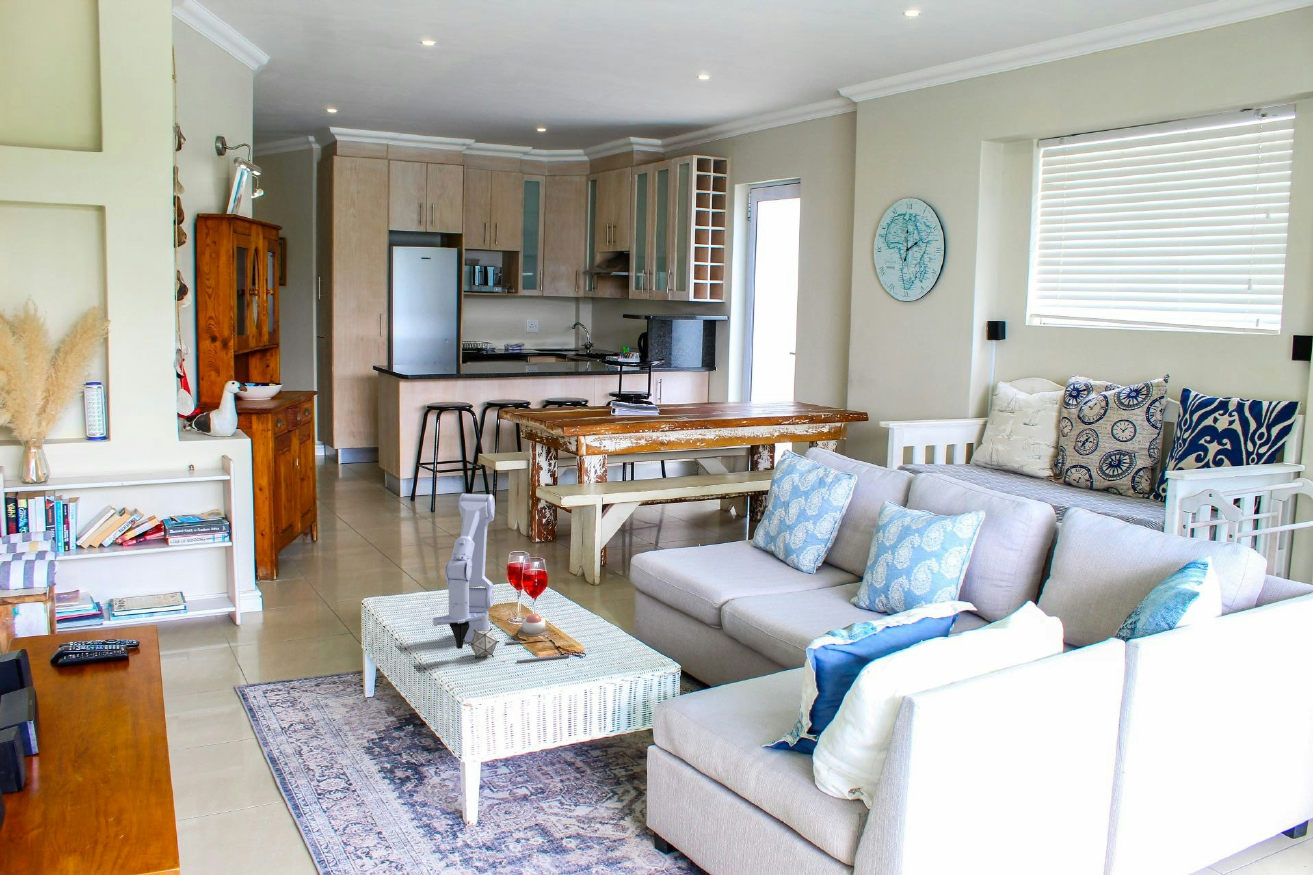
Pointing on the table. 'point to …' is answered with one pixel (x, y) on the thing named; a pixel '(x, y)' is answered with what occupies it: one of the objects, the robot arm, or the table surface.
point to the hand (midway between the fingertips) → (459, 647)
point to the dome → (533, 624)
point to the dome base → (533, 634)
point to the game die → (483, 643)
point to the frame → (536, 658)
